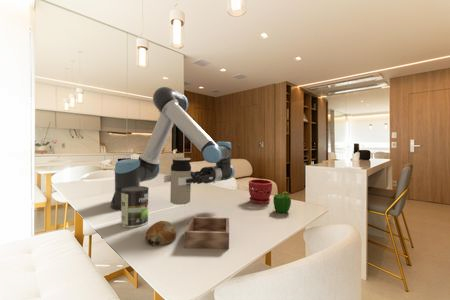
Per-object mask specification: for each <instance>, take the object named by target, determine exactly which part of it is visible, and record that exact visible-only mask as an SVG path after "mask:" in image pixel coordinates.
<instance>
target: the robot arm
mask: <svg viewBox="0 0 450 300" xmlns="http://www.w3.org/2000/svg"><path fill="white" fill-rule="evenodd" d="M152 102H153V105H154V106H155V107H156V109H157V111H158V112H159V116H158V118H157V121H156V124H155V125H154V128H153V130H152V132H151V135H150V137H149V139H148V142H147V145H146V147H145V149H144V152H143V153H140V154H139V157H138V158H128V159H121V160H119V161H116V162H115V165H114V166H115V168H114V193H113V196H112V198H111V202H110V208H112V209H113V210H114V209H115V210H121V189H123V188H126V187H133V186H141V185H140V183H142V182H148V181H150V180H154V179H155V178H157V177H158V175H159V174H160V171H161V167H160V163H161V161H160V157H161V154H162V152H163V149H164V147H165V145H166V142H167V141H168V138H169V136H170V134H171V131H172V129H173V127H174V124H175V126H176V127H177V128H178V129H179V130H180V131H181V132H182V134H184V136H185V137H186V138H188V140H189V141H190V142H191V143H192V144H193V145H194V147H196V148H197V149H198V150H199V151H200V153H201V154H202V156H203V159H204V161H206V162H207V163H209V164H215V165H213V166H212V165H211V166H204V167H202V168H201V169H200V170H198V171H197V170H196V171H192V170H191V176H190V177H183V178H178V185H179V186H180V185H186V184H197V185H200V184H211V183H213V184H215V183H216V182H219V181H220V182H221V181H227V180H231V179H232V178H233V177H234V176H235V169H234V166H233V165H232V162H231V161H232V159H231V157H232V143H231V142H230V141H217V142H215V140H213V139H212V138H211V136H210V135H209V134H208V133H206V131H205V130H204V129H202V127H201V126H200V125H199V124H198V123H197V122H196V121H195V119H194V120H193V118H192V117H191V116H190V115H189V114H188V113H187V110H188V108H189V101H188V98H187V97H186V96H185V95H184V94H183V93H181V92H180V91H177V90H174V89H172V88H170V87H167V86H161V87H159V88H157V89H156V90H155V91H154V93H153V95H152ZM163 183H171V174H167V175H166V174H164V175H163Z"/></svg>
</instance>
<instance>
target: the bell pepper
mask: <svg viewBox="0 0 450 300" xmlns="http://www.w3.org/2000/svg"><path fill="white" fill-rule="evenodd" d="M288 193H289V192H288V191H283V192H282V193H281V194H274V196H273V200H272V201H273V207H274V210H275V212H276V213H280V214H282V213H283V214H284V213H288V212H289V210H290V209H291V206H292V205H291V204H292V198H291V196H290V195H287V194H288Z"/></svg>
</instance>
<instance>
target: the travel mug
mask: <svg viewBox="0 0 450 300" xmlns="http://www.w3.org/2000/svg"><path fill="white" fill-rule="evenodd" d="M171 160H172V164H171V166H170V175H171V182H170V199H169V200H170V203H171V204H172V205H178V206H179V205H180V206H181V205H186V204H189V203H190V202H191V190H192V189H191V187H192V185H191V184H192V183H191V184H186V185H180V186H179V185H178V178H183V177H190V176H191V171H192V166H191V163H190V161H191V158H190V157H172V158H171Z"/></svg>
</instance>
